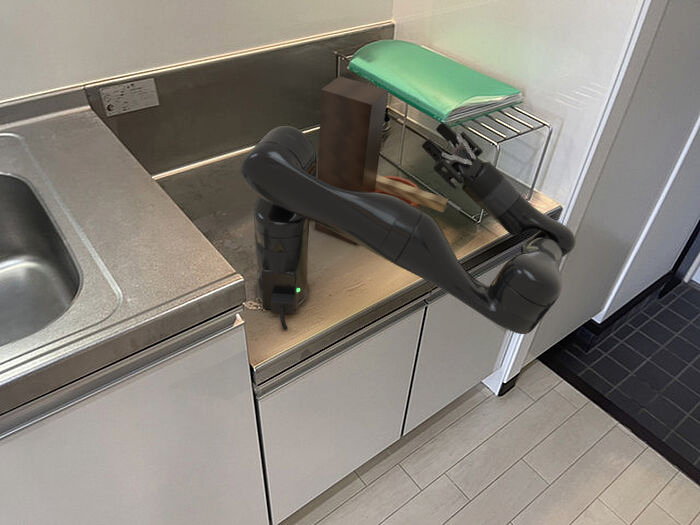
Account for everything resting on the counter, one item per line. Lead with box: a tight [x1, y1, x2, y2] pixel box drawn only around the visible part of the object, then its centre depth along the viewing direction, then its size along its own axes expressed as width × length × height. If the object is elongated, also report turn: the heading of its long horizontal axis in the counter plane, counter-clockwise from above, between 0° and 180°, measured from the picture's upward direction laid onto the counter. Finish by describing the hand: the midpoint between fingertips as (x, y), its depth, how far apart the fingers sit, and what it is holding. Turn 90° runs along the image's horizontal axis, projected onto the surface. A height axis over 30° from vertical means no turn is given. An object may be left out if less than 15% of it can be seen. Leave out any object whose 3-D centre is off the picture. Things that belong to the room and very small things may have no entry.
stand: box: [314, 75, 389, 246], centre depth 108 cm, size 10×7×32 cm
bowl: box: [375, 175, 421, 210], centre depth 122 cm, size 13×13×6 cm
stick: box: [375, 174, 449, 213], centre depth 120 cm, size 24×2×2 cm, turn 63°
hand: (432, 133), depth 108 cm, fingers open, 7 cm apart
